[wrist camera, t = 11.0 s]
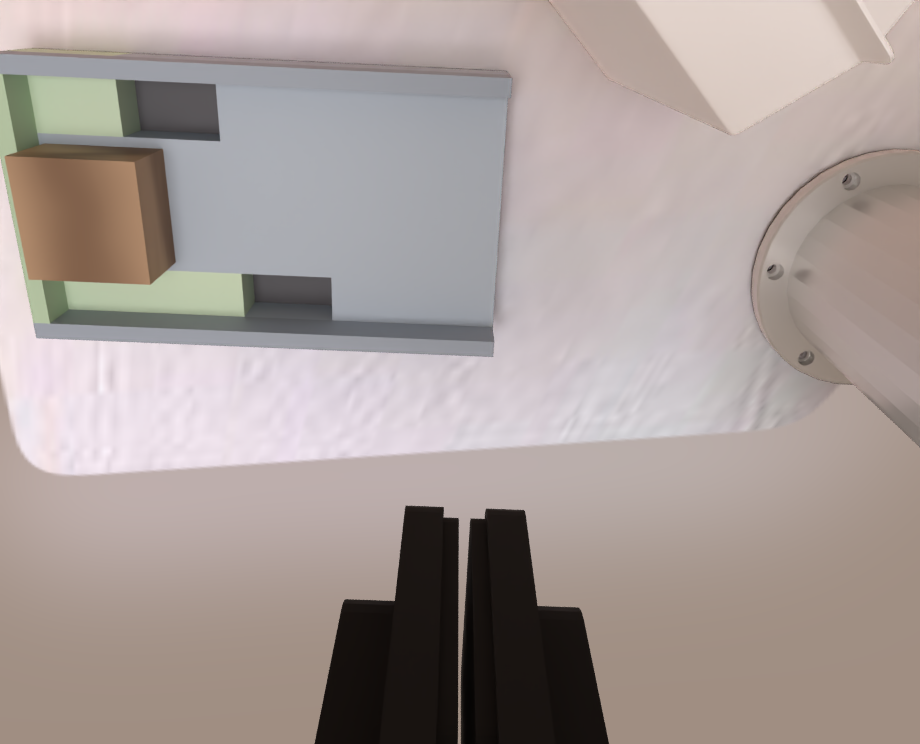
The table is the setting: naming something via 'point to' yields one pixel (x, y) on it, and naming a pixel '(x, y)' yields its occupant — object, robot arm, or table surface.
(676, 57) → the milk
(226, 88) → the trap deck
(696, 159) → the table surface
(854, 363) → the robot arm
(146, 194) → the block
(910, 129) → the table surface
